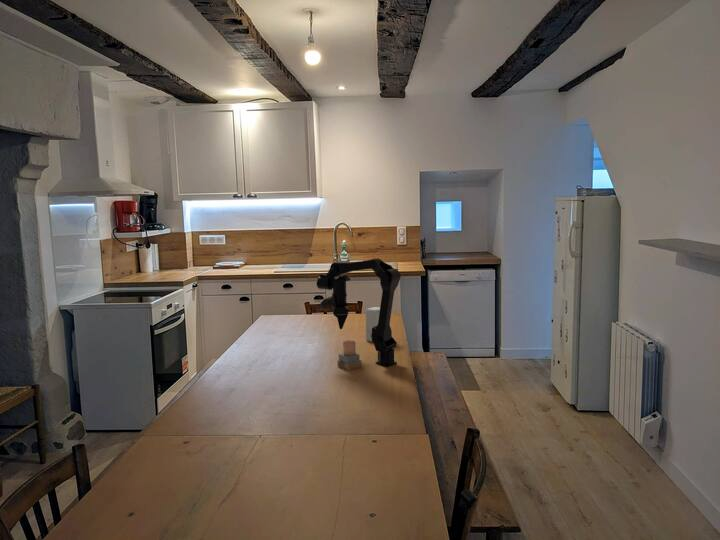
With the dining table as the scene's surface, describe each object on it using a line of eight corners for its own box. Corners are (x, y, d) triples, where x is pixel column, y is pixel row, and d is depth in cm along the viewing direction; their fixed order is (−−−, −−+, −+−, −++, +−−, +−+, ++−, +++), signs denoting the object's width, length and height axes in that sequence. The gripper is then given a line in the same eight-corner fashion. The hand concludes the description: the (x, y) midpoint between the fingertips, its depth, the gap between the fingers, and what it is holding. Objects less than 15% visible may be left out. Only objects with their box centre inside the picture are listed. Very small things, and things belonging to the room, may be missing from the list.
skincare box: (376, 343, 254) (375, 310, 252) (364, 341, 258) (364, 309, 256) (386, 339, 261) (385, 307, 259) (375, 337, 265) (374, 306, 263)
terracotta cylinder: (358, 354, 220) (358, 342, 219) (348, 356, 216) (348, 344, 216) (350, 351, 223) (349, 339, 223) (340, 354, 220) (340, 342, 219)
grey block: (359, 360, 219) (359, 354, 219) (347, 363, 216) (347, 357, 215) (350, 357, 224) (350, 351, 224) (338, 359, 221) (338, 354, 220)
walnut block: (361, 367, 220) (361, 360, 219) (348, 371, 215) (348, 364, 215) (350, 363, 225) (350, 356, 225) (337, 367, 221) (337, 360, 220)
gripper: (320, 287, 240) (321, 322, 242) (320, 295, 222) (321, 332, 224) (345, 287, 241) (346, 321, 243) (348, 294, 222) (348, 331, 225)
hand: (340, 326), depth 234 cm, fingers open, 9 cm apart
